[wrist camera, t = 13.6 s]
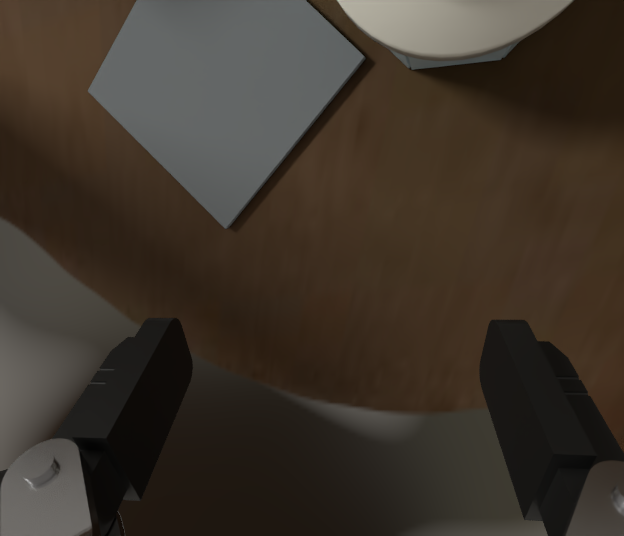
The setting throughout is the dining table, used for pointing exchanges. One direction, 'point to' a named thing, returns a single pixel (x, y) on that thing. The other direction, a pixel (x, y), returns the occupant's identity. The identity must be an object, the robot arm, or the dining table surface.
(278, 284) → the dining table surface
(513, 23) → the lid
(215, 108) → the mat
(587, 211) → the dining table surface
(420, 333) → the dining table surface
